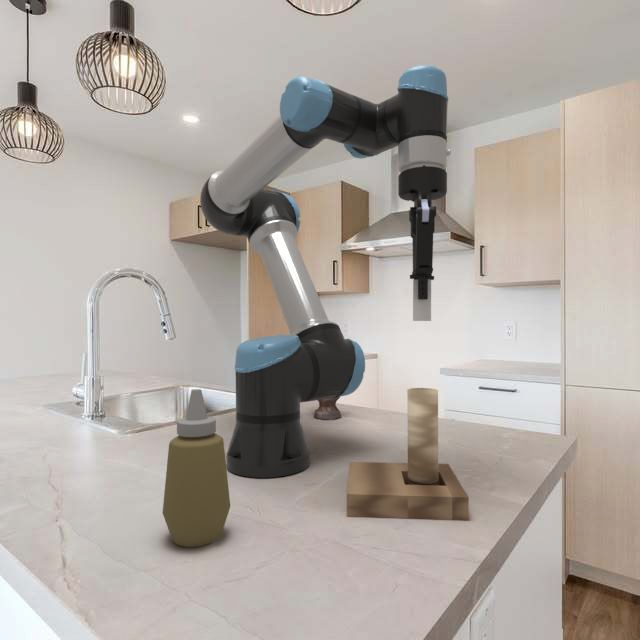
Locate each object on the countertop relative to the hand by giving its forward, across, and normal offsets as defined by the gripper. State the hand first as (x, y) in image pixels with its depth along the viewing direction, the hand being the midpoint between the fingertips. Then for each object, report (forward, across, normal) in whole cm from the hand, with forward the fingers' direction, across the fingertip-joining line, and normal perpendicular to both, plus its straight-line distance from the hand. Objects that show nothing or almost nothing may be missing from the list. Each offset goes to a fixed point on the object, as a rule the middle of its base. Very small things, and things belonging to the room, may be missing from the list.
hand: (421, 320), depth 73 cm
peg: (+26, -6, 0) cm, 27 cm away
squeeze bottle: (+27, -21, +28) cm, 44 cm away
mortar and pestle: (+27, +49, +22) cm, 61 cm away
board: (+26, -6, +3) cm, 27 cm away
